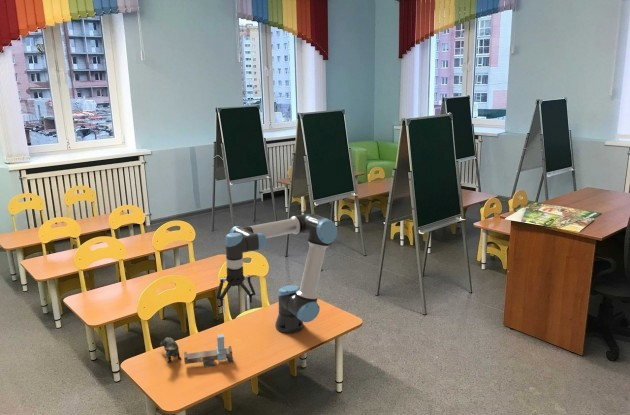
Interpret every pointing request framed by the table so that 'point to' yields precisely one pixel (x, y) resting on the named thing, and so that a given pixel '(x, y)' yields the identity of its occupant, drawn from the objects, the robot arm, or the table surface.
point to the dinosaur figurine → (170, 349)
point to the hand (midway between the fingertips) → (236, 310)
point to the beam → (207, 357)
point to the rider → (220, 347)
